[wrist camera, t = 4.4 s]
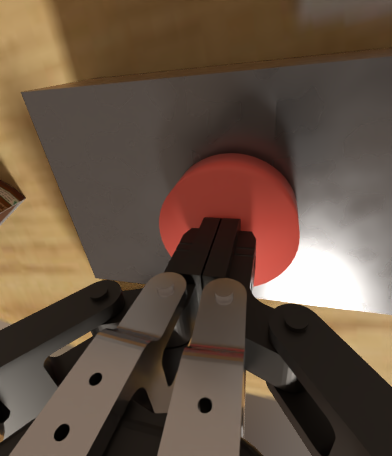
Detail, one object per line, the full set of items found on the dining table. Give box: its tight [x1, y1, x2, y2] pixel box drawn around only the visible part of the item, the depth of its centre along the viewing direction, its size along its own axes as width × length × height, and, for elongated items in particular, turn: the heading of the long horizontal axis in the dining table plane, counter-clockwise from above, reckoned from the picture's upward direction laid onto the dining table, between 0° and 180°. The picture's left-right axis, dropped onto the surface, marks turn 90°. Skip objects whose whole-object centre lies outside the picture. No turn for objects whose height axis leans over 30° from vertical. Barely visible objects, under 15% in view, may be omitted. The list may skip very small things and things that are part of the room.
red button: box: [159, 153, 300, 287], centre depth 14 cm, size 6×6×7 cm
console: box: [21, 48, 392, 315], centre depth 16 cm, size 20×12×6 cm, turn 97°
